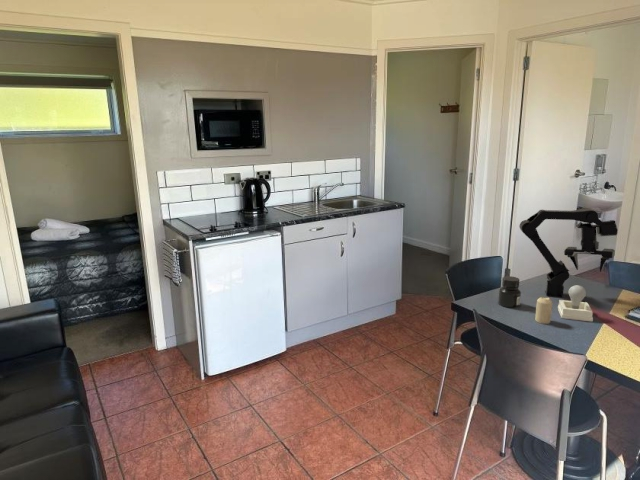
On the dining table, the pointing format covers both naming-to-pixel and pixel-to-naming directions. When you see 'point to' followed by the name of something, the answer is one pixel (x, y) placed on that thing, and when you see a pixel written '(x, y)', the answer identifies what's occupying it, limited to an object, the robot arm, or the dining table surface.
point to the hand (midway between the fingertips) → (588, 270)
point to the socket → (575, 311)
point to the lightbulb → (576, 295)
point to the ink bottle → (509, 292)
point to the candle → (543, 310)
